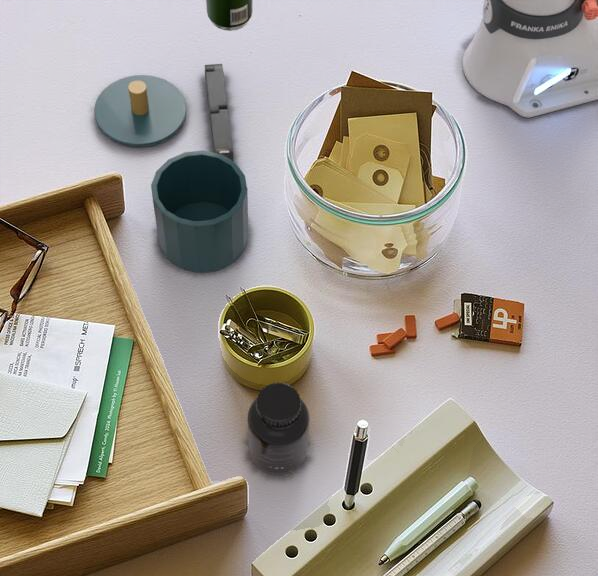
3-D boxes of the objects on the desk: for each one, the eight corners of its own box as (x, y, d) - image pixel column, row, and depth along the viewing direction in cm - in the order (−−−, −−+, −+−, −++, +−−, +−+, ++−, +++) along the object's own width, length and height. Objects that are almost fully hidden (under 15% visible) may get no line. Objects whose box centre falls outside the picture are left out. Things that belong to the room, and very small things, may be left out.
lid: (92, 85, 145) (87, 57, 141) (181, 77, 147) (179, 48, 142) (98, 153, 140) (93, 126, 135) (191, 144, 141) (189, 117, 137)
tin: (154, 205, 136) (147, 155, 128) (241, 196, 138) (240, 146, 129) (163, 277, 132) (156, 230, 123) (253, 267, 133) (252, 220, 124)
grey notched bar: (204, 76, 147) (203, 59, 144) (223, 74, 147) (222, 58, 144) (215, 175, 139) (214, 160, 136) (235, 174, 139) (234, 159, 137)
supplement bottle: (249, 422, 123) (248, 371, 112) (308, 424, 123) (312, 373, 112) (246, 475, 120) (245, 428, 109) (306, 478, 120) (310, 431, 109)
